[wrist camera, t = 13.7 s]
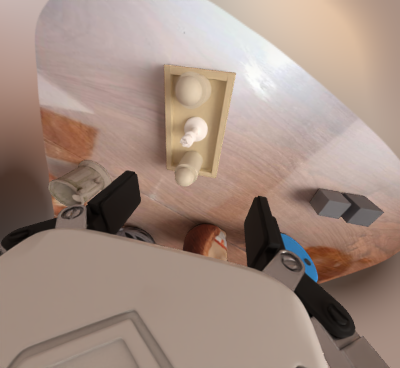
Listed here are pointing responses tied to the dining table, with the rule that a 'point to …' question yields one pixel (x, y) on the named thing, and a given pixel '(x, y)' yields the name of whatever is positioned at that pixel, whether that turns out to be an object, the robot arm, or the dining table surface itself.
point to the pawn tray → (195, 107)
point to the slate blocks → (345, 207)
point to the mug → (80, 184)
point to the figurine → (206, 241)
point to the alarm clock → (299, 251)
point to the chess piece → (194, 131)
